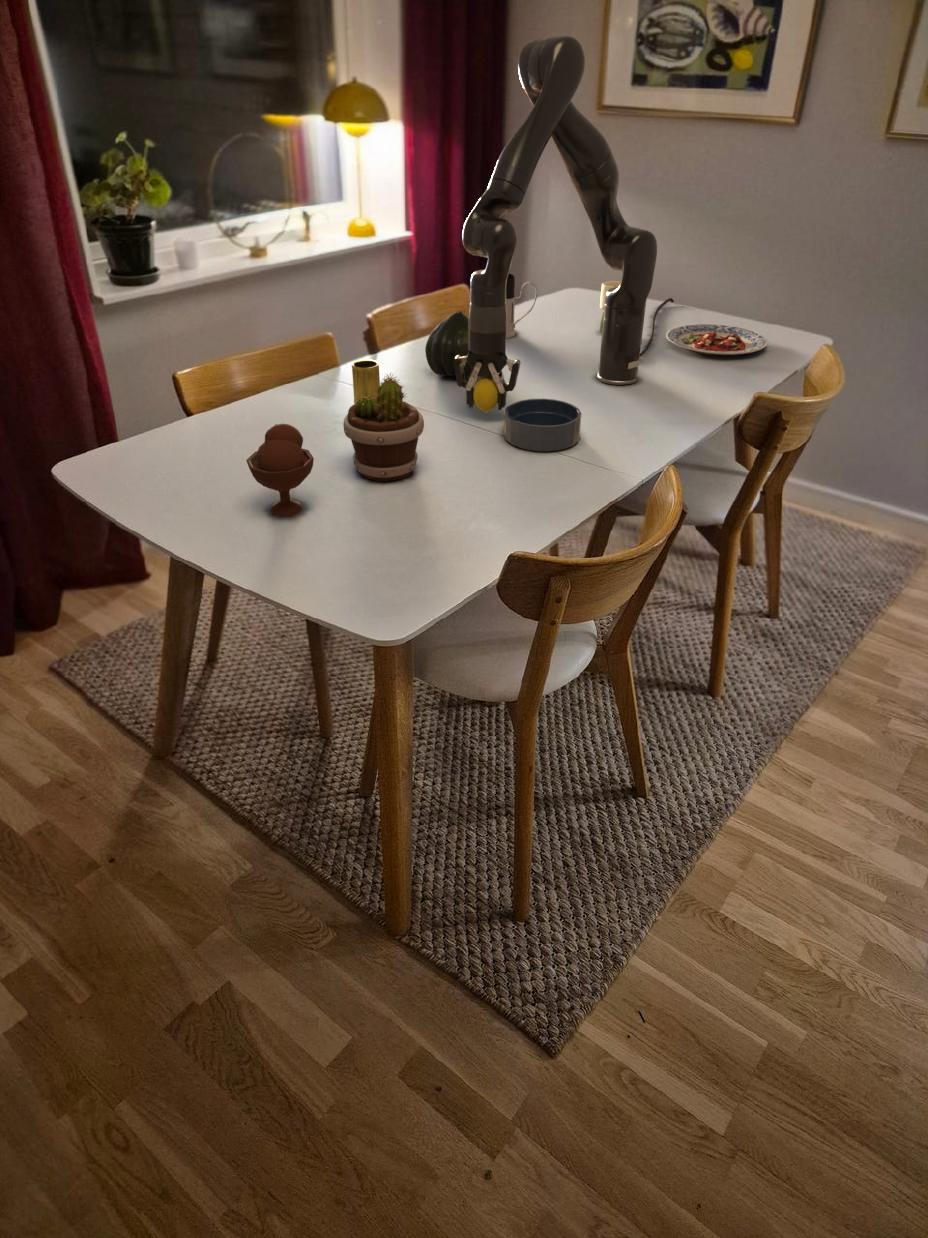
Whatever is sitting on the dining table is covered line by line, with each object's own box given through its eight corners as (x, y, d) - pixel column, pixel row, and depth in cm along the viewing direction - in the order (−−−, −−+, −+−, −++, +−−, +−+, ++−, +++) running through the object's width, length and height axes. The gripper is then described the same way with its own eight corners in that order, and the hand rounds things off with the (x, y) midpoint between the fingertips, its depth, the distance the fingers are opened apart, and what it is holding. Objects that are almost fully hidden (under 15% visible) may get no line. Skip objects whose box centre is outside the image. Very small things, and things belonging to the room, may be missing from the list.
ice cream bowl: (257, 496, 149) (245, 415, 141) (320, 494, 150) (312, 414, 142) (250, 525, 141) (236, 441, 132) (317, 522, 141) (308, 439, 133)
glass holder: (485, 328, 235) (486, 271, 226) (536, 330, 233) (539, 273, 225) (481, 337, 228) (482, 279, 219) (533, 339, 226) (536, 281, 218)
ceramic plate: (777, 341, 225) (780, 330, 223) (748, 368, 207) (751, 356, 205) (685, 326, 236) (687, 315, 235) (650, 350, 219) (652, 339, 217)
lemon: (496, 418, 175) (497, 380, 171) (470, 416, 176) (470, 378, 172) (501, 408, 180) (502, 371, 175) (475, 406, 181) (476, 370, 176)
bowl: (511, 420, 179) (512, 395, 176) (583, 427, 176) (585, 401, 173) (497, 449, 167) (498, 422, 164) (573, 456, 164) (576, 429, 161)
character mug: (613, 340, 226) (618, 290, 218) (589, 336, 229) (594, 286, 222) (630, 330, 233) (636, 281, 226) (607, 326, 236) (612, 278, 229)
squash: (445, 368, 190) (477, 309, 189) (404, 355, 199) (435, 299, 199) (480, 398, 201) (511, 342, 200) (440, 384, 210) (469, 331, 210)
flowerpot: (336, 462, 161) (326, 358, 150) (411, 450, 166) (407, 348, 155) (358, 493, 150) (350, 384, 139) (438, 479, 155) (436, 372, 144)
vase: (389, 428, 175) (385, 360, 167) (377, 439, 170) (372, 370, 162) (362, 425, 177) (357, 357, 169) (349, 435, 172) (344, 366, 164)
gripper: (526, 323, 169) (522, 404, 179) (457, 318, 172) (457, 398, 182) (519, 334, 163) (516, 417, 173) (448, 329, 166) (448, 411, 176)
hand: (486, 407), depth 177 cm, fingers closed on lemon, 5 cm apart
